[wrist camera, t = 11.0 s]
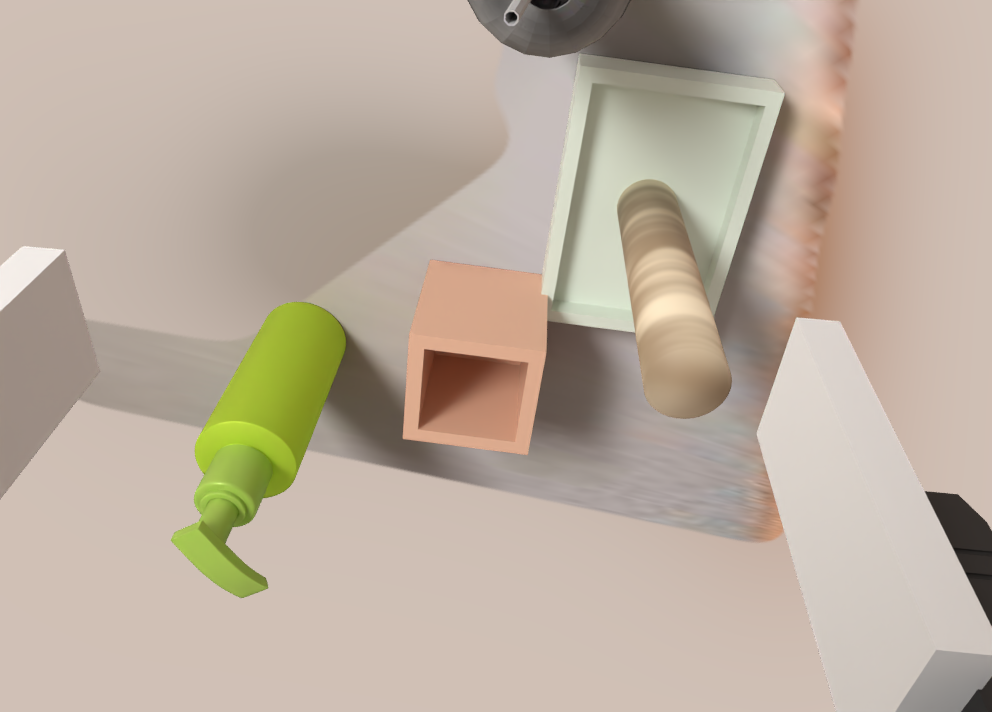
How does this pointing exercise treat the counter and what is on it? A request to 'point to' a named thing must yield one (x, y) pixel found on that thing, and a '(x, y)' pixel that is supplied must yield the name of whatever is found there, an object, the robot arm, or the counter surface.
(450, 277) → the pot
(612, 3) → the beverage cup
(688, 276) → the dowel
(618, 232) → the tray
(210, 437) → the soap dispenser
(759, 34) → the counter surface
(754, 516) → the counter surface
